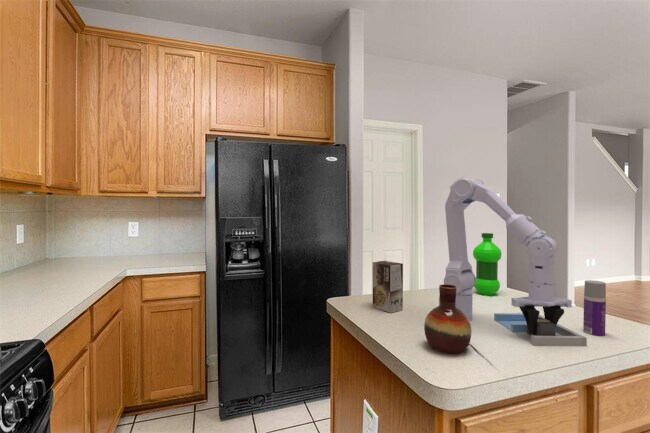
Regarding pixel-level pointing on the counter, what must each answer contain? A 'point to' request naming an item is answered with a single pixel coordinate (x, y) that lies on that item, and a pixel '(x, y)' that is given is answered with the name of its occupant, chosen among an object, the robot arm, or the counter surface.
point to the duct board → (519, 327)
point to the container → (594, 308)
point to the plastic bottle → (487, 265)
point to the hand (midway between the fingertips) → (540, 333)
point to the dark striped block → (544, 328)
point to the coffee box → (387, 286)
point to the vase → (447, 324)
